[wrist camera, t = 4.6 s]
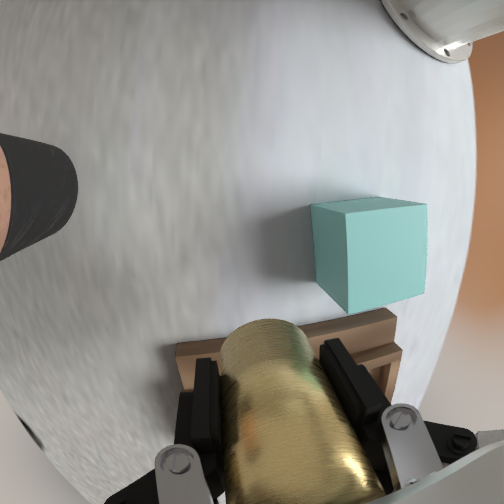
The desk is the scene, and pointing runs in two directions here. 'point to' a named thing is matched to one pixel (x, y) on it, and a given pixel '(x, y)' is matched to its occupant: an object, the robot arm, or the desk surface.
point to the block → (370, 251)
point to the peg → (286, 424)
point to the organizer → (346, 329)
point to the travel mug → (33, 192)
